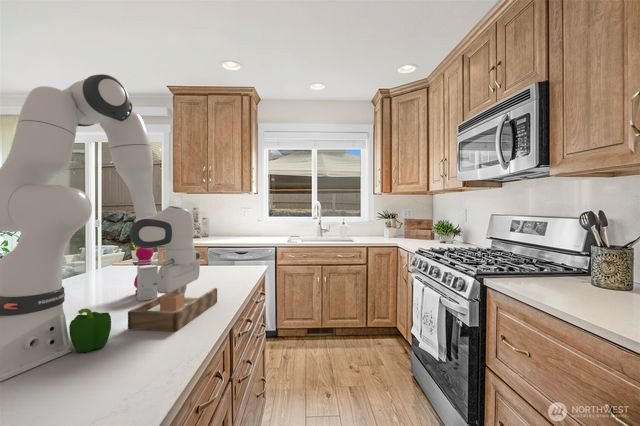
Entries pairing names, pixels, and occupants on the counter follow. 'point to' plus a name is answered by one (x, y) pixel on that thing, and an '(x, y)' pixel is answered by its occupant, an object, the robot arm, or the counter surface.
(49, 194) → the robot arm
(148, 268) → the skincare box
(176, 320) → the box
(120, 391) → the counter surface
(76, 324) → the bell pepper
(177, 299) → the block
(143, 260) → the pepper mill
